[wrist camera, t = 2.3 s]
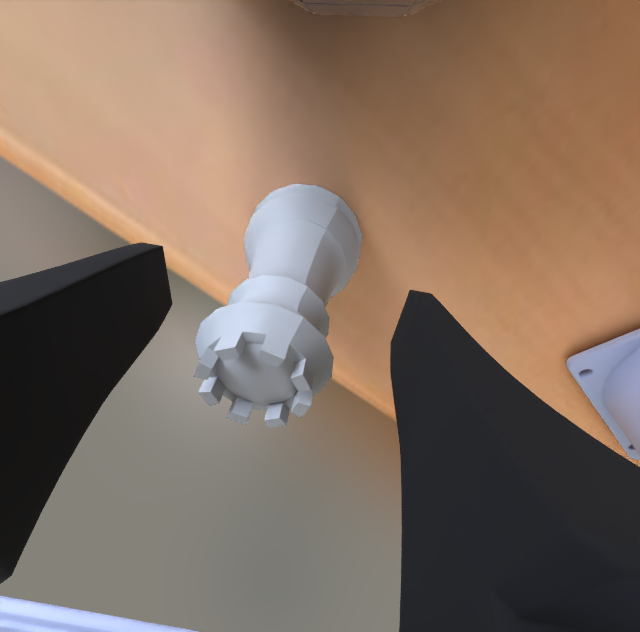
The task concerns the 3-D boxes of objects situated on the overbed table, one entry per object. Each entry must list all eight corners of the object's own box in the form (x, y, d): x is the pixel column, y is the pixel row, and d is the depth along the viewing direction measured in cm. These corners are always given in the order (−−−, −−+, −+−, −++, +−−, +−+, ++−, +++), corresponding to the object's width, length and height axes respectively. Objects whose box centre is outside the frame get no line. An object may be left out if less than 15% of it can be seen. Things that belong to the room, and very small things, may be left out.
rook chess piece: (291, 152, 11) (199, 255, 5) (386, 229, 13) (406, 389, 6) (233, 244, 14) (121, 393, 8) (318, 302, 15) (284, 470, 9)
